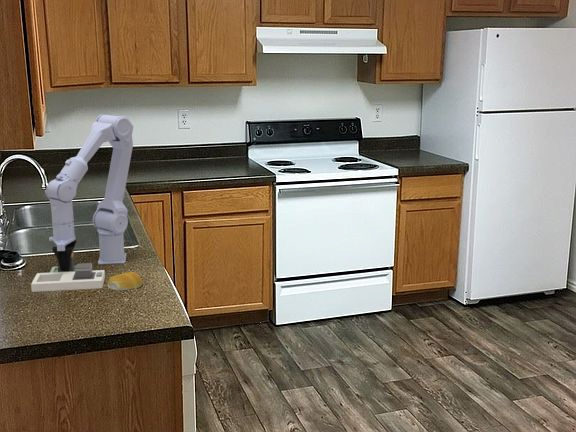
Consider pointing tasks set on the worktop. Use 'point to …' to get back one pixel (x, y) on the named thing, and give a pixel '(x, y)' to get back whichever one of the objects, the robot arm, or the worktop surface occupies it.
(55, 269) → the tray
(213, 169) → the worktop surface
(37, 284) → the strip
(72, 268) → the plug
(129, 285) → the bread roll
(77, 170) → the robot arm
